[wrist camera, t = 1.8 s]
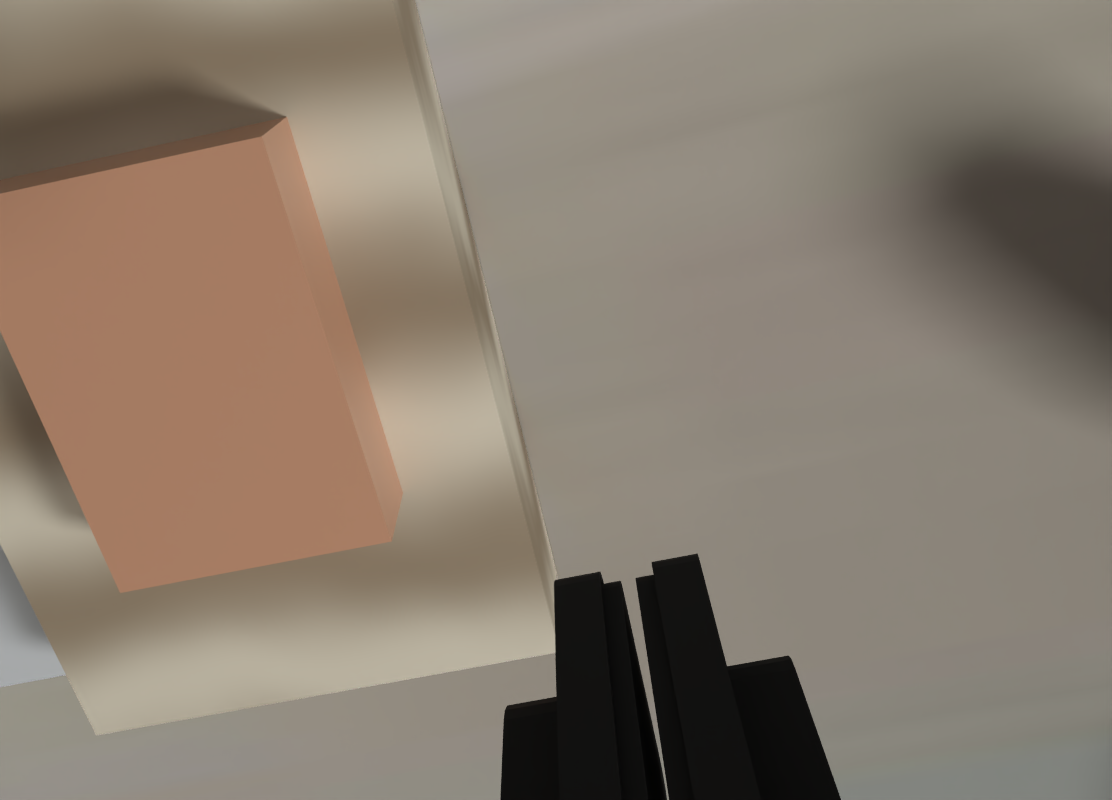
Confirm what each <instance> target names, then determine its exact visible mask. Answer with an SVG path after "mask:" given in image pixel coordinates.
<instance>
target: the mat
mask: <svg viewBox="0 0 1112 800" xmlns="http://www.w3.org/2000/svg"><path fill="white" fill-rule="evenodd" d="M63 675H66V674H65V672H64V670H63V668H62V666H61V664H60V662H59V660H58V658H57V656H56V654H55V652H54V650H53V648H52V646H51V644H50V642H49V640H48V638H47V636H46V634H45V632H44V630H43V628H42V626H41V624H40V622H39V620H38V618H37V616H36V614H35V612H34V610H33V608H32V606H31V604H30V602H29V600H28V598H27V596H26V594H25V592H24V590H23V588H22V586H21V584H20V582H19V580H18V578H17V576H16V574H15V572H14V570H13V569H12V567H11V565H10V563H9V561H8V559H7V557H6V555H5V553H4V551H3V549H2V547H1V545H0V687H4V686H9V685H14V684H20V683H25V682H31V681H36V680H42V679H47V678H52V677H58V676H63Z"/></svg>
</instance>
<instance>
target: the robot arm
mask: <svg viewBox="0 0 1112 800" xmlns="http://www.w3.org/2000/svg"><path fill="white" fill-rule="evenodd" d="M652 568H653V573H654V575H649V576H644V577H639V578H636V584H637V591H638V597H639V604H640V610H641V617H642V624H643V630H644V637H645V643H646V650H647V656H648V663H649V670H650V676H651V683H652V689H653V696H654V702H655V709H656V715H657V722H658V729H659V735H660V742H661V748H662V755H663V761H664V768H665V774H666V781H667V788H668V794H669V800H841V798H840V796H839V793H838V790H837V787H836V784H835V781H834V778H833V776H832V773H831V770H830V767H829V764H828V761H827V758H826V756H825V753H824V750H823V747H822V744H821V741H820V738H819V735H818V733H817V730H816V727H815V724H814V721H813V718H812V715H811V713H810V710H809V707H808V704H807V701H806V698H805V695H804V693H803V690H802V687H801V684H800V681H799V678H798V675H797V673H796V670H795V667H794V665H793V662H792V660H791V658H790V657H789V656H784V657H778V658H772V659H767V660H761V661H756V662H750V663H744V664H739V665H733V666H727V665H726V661H725V657H724V653H723V649H722V646H721V642H720V638H719V634H718V630H717V626H716V622H715V618H714V615H713V611H712V607H711V603H710V599H709V595H708V591H707V587H706V584H705V580H704V576H703V572H702V568H701V564H700V560H699V557H698V554H693V555H688V556H682V557H677V558H672V559H666V560H661V561H655V562H652ZM554 613H555V652H556V690H557V697H553V698H547V699H542V700H536V701H530V702H525V703H519V704H514V705H508V706H507V707H506V709H505V715H504V729H503V753H502V777H501V800H667V797H666V790H665V784H664V778H663V773H662V767H661V762H660V757H659V753H658V748H657V743H656V739H655V734H654V730H653V725H652V720H651V716H650V711H649V707H648V702H647V698H646V693H645V688H644V684H643V679H642V675H641V670H640V665H639V661H638V656H637V652H636V647H635V643H634V638H633V633H632V629H631V624H630V620H629V615H628V610H627V606H626V601H625V597H624V592H623V588H622V584H621V581H617V582H611V583H606V584H604V583H603V579H602V575H601V573H600V572H596V573H591V574H585V575H580V576H575V577H569V578H564V579H558V580H555V581H554Z"/></svg>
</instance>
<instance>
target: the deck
mask: <svg viewBox="0 0 1112 800" xmlns="http://www.w3.org/2000/svg"><path fill="white" fill-rule="evenodd" d="M283 117H287V119H288V122H289V125H290V128H291V132H292V135H293V138H294V141H295V145H296V148H297V151H298V154H299V158H300V161H301V164H302V167H303V170H304V174H305V177H306V180H307V183H308V187H309V190H310V193H311V196H312V200H313V203H314V206H315V209H316V213H317V216H318V219H319V222H320V226H321V229H322V232H323V235H324V239H325V242H326V245H327V248H328V251H329V255H330V258H331V261H332V264H333V268H334V271H335V274H336V277H337V281H338V284H339V287H340V290H341V294H342V297H343V300H344V303H345V307H346V310H347V313H348V316H349V319H350V323H351V326H352V329H353V332H354V336H355V339H356V342H357V345H358V349H359V352H360V355H361V358H362V362H363V365H364V368H365V371H366V375H367V378H368V381H369V384H370V387H371V391H372V394H373V397H374V400H375V404H376V407H377V410H378V413H379V417H380V420H381V423H382V426H383V430H384V433H385V436H386V439H387V443H388V446H389V449H390V452H391V456H392V459H393V462H394V465H395V468H396V472H397V475H398V478H399V481H400V485H401V488H402V491H403V496H402V500H401V504H400V509H399V513H398V517H397V521H396V526H395V530H394V534H393V539H392V542H387V543H381V544H376V545H371V546H366V547H360V548H355V549H350V550H344V551H339V552H334V553H329V554H323V555H318V556H313V557H308V558H302V559H297V560H292V561H287V562H281V563H276V564H271V565H265V566H260V567H255V568H250V569H244V570H239V571H234V572H229V573H223V574H218V575H213V576H207V577H202V578H197V579H192V580H186V581H181V582H176V583H171V584H165V585H160V586H155V587H150V588H144V589H139V590H134V591H128V592H123V593H120V592H119V589H118V587H117V585H116V583H115V581H114V579H113V576H112V574H111V572H110V570H109V568H108V565H107V563H106V561H105V559H104V557H103V555H102V552H101V550H100V548H99V546H98V544H97V541H96V539H95V537H94V535H93V533H92V530H91V528H90V526H89V524H88V522H87V520H86V517H85V515H84V513H83V511H82V509H81V506H80V504H79V502H78V500H77V498H76V496H75V493H74V491H73V489H72V487H71V485H70V482H69V480H68V478H67V476H66V474H65V472H64V469H63V467H62V465H61V463H60V461H59V458H58V456H57V454H56V452H55V450H54V448H53V445H52V443H51V441H50V439H49V437H48V434H47V432H46V430H45V428H44V426H43V424H42V421H41V419H40V417H39V415H38V413H37V410H36V408H35V406H34V404H33V402H32V400H31V397H30V395H29V393H28V391H27V389H26V386H25V384H24V382H23V380H22V378H21V376H20V373H19V371H18V369H17V367H16V365H15V362H14V360H13V358H12V356H11V354H10V352H9V349H8V347H7V345H6V343H5V341H4V338H3V336H2V334H1V332H0V545H1V547H2V549H3V551H4V553H5V555H6V557H7V559H8V561H9V563H10V565H11V567H12V569H13V570H14V572H15V574H16V576H17V578H18V580H19V582H20V584H21V586H22V588H23V590H24V592H25V594H26V596H27V598H28V600H29V602H30V604H31V606H32V608H33V610H34V612H35V614H36V616H37V618H38V620H39V622H40V624H41V626H42V628H43V630H44V632H45V634H46V636H47V638H48V640H49V642H50V644H51V646H52V648H53V650H54V652H55V654H56V656H57V658H58V660H59V662H60V664H61V666H62V668H63V670H64V672H65V674H66V676H67V678H68V680H69V682H70V684H71V686H72V688H73V690H74V692H75V694H76V696H77V698H78V700H79V702H80V704H81V706H82V708H83V710H84V712H85V713H86V715H87V717H88V719H89V721H90V723H91V725H92V727H93V729H94V731H95V733H96V735H102V734H108V733H113V732H119V731H124V730H130V729H135V728H141V727H147V726H152V725H158V724H163V723H169V722H174V721H180V720H185V719H191V718H196V717H202V716H208V715H213V714H219V713H224V712H230V711H235V710H241V709H246V708H252V707H258V706H263V705H269V704H274V703H280V702H285V701H291V700H296V699H302V698H307V697H313V696H319V695H324V694H330V693H335V692H341V691H346V690H352V689H357V688H363V687H368V686H374V685H380V684H385V683H391V682H396V681H402V680H407V679H413V678H418V677H424V676H429V675H435V674H441V673H446V672H452V671H457V670H463V669H468V668H474V667H479V666H485V665H490V664H496V663H502V662H507V661H513V660H518V659H524V658H529V657H535V656H540V655H546V654H551V653H556V652H555V613H554V581H555V580H557V572H556V568H555V563H554V559H553V555H552V551H551V547H550V543H549V539H548V535H547V531H546V527H545V523H544V519H543V515H542V511H541V507H540V503H539V499H538V495H537V491H536V487H535V483H534V479H533V475H532V471H531V467H530V463H529V459H528V455H527V451H526V446H525V442H524V438H523V434H522V430H521V426H520V422H519V418H518V414H517V410H516V406H515V402H514V398H513V394H512V390H511V386H510V382H509V378H508V374H507V370H506V366H505V362H504V358H503V354H502V350H501V346H500V342H499V338H498V334H497V329H496V325H495V321H494V317H493V313H492V309H491V305H490V301H489V297H488V293H487V289H486V285H485V281H484V277H483V273H482V269H481V265H480V261H479V257H478V253H477V249H476V245H475V241H474V237H473V233H472V229H471V225H470V221H469V217H468V213H467V208H466V204H465V200H464V196H463V192H462V188H461V184H460V180H459V176H458V172H457V168H456V164H455V160H454V156H453V152H452V148H451V144H450V140H449V136H448V132H447V128H446V124H445V120H444V116H443V112H442V108H441V104H440V100H439V96H438V91H437V87H436V83H435V79H434V75H433V71H432V67H431V63H430V59H429V55H428V51H427V47H426V43H425V39H424V35H423V31H422V27H421V23H420V19H419V15H418V11H417V7H416V3H415V0H0V180H2V179H6V178H11V177H15V176H20V175H24V174H29V173H33V172H38V171H42V170H47V169H52V168H56V167H61V166H65V165H70V164H74V163H79V162H83V161H88V160H92V159H97V158H101V157H106V156H111V155H115V154H120V153H124V152H129V151H133V150H138V149H142V148H147V147H151V146H156V145H161V144H165V143H170V142H174V141H179V140H183V139H188V138H192V137H197V136H201V135H206V134H210V133H215V132H220V131H224V130H229V129H233V128H238V127H242V126H247V125H251V124H256V123H260V122H265V121H270V120H274V119H279V118H283Z"/></svg>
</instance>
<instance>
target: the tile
mask: <svg viewBox="0 0 1112 800" xmlns="http://www.w3.org/2000/svg"><path fill="white" fill-rule="evenodd" d="M0 332H1V334H2V336H3V338H4V341H5V343H6V345H7V347H8V349H9V352H10V354H11V356H12V358H13V360H14V362H15V365H16V367H17V369H18V371H19V373H20V376H21V378H22V380H23V382H24V384H25V386H26V389H27V391H28V393H29V395H30V397H31V400H32V402H33V404H34V406H35V408H36V410H37V413H38V415H39V417H40V419H41V421H42V424H43V426H44V428H45V430H46V432H47V434H48V437H49V439H50V441H51V443H52V445H53V448H54V450H55V452H56V454H57V456H58V458H59V461H60V463H61V465H62V467H63V469H64V472H65V474H66V476H67V478H68V480H69V482H70V485H71V487H72V489H73V491H74V493H75V496H76V498H77V500H78V502H79V504H80V506H81V509H82V511H83V513H84V515H85V517H86V520H87V522H88V524H89V526H90V528H91V530H92V533H93V535H94V537H95V539H96V541H97V544H98V546H99V548H100V550H101V552H102V555H103V557H104V559H105V561H106V563H107V565H108V568H109V570H110V572H111V574H112V576H113V579H114V581H115V583H116V585H117V587H118V589H119V592H120V593H123V592H128V591H134V590H139V589H144V588H150V587H155V586H160V585H165V584H171V583H176V582H181V581H186V580H192V579H197V578H202V577H207V576H213V575H218V574H223V573H229V572H234V571H239V570H244V569H250V568H255V567H260V566H265V565H271V564H276V563H281V562H287V561H292V560H297V559H302V558H308V557H313V556H318V555H323V554H329V553H334V552H339V551H344V550H350V549H355V548H360V547H366V546H371V545H376V544H381V543H387V542H392V539H393V534H394V530H395V526H396V521H397V517H398V513H399V509H400V504H401V500H402V496H403V491H402V488H401V485H400V481H399V478H398V475H397V472H396V468H395V465H394V462H393V459H392V456H391V452H390V449H389V446H388V443H387V439H386V436H385V433H384V430H383V426H382V423H381V420H380V417H379V413H378V410H377V407H376V404H375V400H374V397H373V394H372V391H371V387H370V384H369V381H368V378H367V375H366V371H365V368H364V365H363V362H362V358H361V355H360V352H359V349H358V345H357V342H356V339H355V336H354V332H353V329H352V326H351V323H350V319H349V316H348V313H347V310H346V307H345V303H344V300H343V297H342V294H341V290H340V287H339V284H338V281H337V277H336V274H335V271H334V268H333V264H332V261H331V258H330V255H329V251H328V248H327V245H326V242H325V239H324V235H323V232H322V229H321V226H320V222H319V219H318V216H317V213H316V209H315V206H314V203H313V200H312V196H311V193H310V190H309V187H308V183H307V180H306V177H305V174H304V170H303V167H302V164H301V161H300V158H299V154H298V151H297V148H296V145H295V141H294V138H293V135H292V132H291V128H290V125H289V122H288V119H287V117H283V118H279V119H274V120H270V121H265V122H260V123H256V124H251V125H247V126H242V127H238V128H233V129H229V130H224V131H220V132H215V133H210V134H206V135H201V136H197V137H192V138H188V139H183V140H179V141H174V142H170V143H165V144H161V145H156V146H151V147H147V148H142V149H138V150H133V151H129V152H124V153H120V154H115V155H111V156H106V157H101V158H97V159H92V160H88V161H83V162H79V163H74V164H70V165H65V166H61V167H56V168H52V169H47V170H42V171H38V172H33V173H29V174H24V175H20V176H15V177H11V178H6V179H2V180H0Z"/></svg>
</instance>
